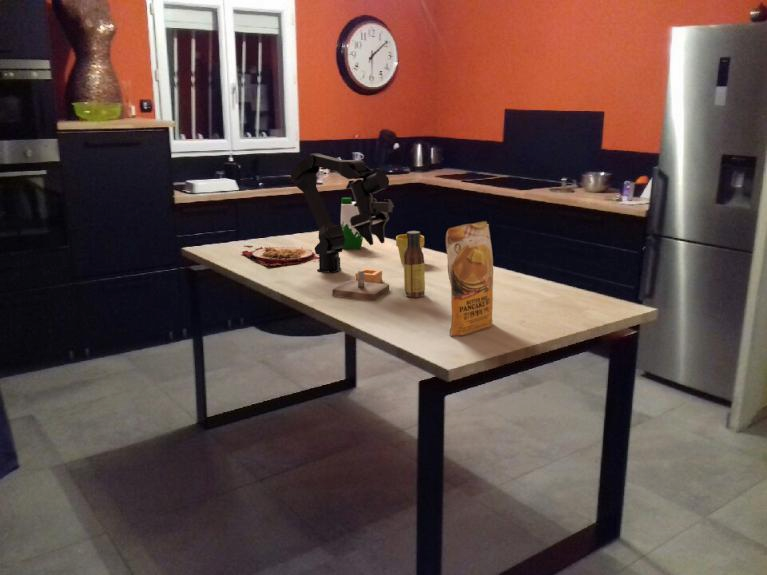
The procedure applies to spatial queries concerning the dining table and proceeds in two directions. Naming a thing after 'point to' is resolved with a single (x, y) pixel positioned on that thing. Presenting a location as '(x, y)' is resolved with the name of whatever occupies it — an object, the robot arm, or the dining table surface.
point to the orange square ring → (371, 275)
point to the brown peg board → (360, 289)
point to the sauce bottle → (414, 266)
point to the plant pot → (405, 244)
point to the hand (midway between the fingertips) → (377, 243)
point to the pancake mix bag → (470, 277)
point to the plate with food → (281, 255)
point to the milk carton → (351, 235)
